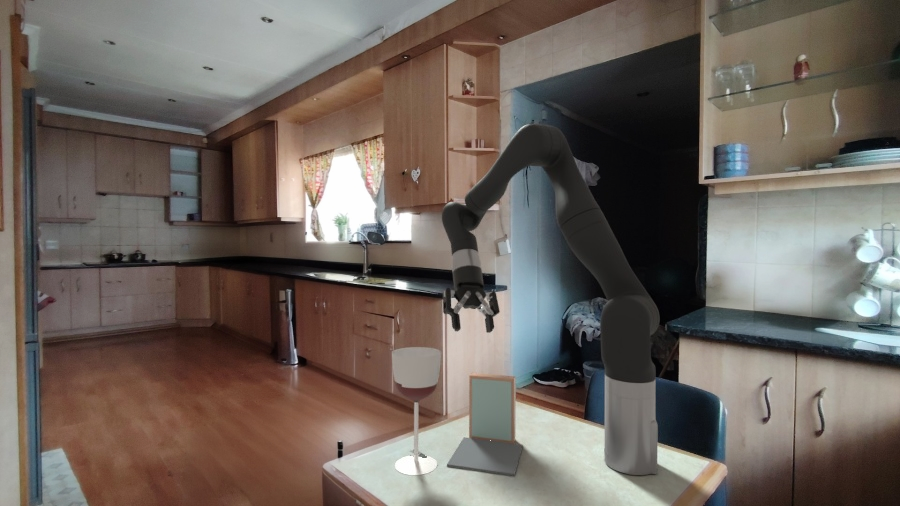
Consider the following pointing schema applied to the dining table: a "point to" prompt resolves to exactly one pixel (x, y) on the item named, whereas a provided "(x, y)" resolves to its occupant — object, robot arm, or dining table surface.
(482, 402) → the picture frame
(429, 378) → the wineglass
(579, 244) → the robot arm
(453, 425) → the dining table surface
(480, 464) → the mat
